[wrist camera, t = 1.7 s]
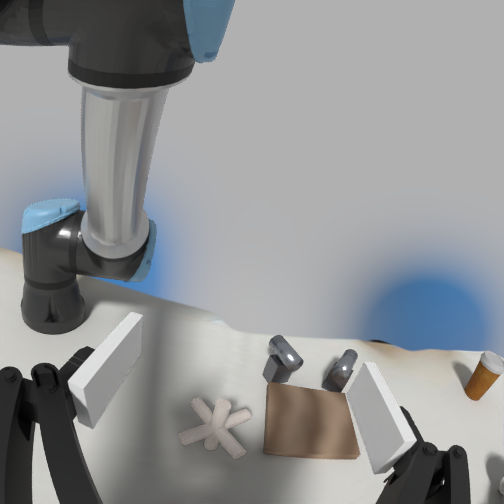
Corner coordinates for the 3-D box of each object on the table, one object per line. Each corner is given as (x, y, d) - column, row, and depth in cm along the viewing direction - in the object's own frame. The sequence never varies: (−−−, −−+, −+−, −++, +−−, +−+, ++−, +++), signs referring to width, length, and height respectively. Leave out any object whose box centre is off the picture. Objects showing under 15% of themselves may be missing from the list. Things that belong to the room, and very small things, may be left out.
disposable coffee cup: (476, 386, 51) (498, 352, 48) (486, 405, 42) (511, 370, 39) (456, 382, 53) (478, 347, 50) (466, 402, 44) (492, 365, 41)
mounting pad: (263, 453, 31) (266, 448, 30) (266, 386, 45) (269, 381, 45) (355, 459, 31) (360, 454, 30) (341, 398, 45) (344, 393, 45)
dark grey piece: (335, 401, 44) (353, 371, 42) (317, 392, 46) (334, 361, 44) (345, 383, 50) (362, 354, 48) (329, 375, 52) (344, 345, 50)
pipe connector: (161, 430, 30) (164, 386, 28) (219, 411, 37) (232, 367, 34) (200, 485, 24) (211, 452, 21) (260, 456, 30) (283, 417, 27)
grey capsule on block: (292, 388, 46) (308, 357, 44) (274, 392, 44) (289, 360, 42) (274, 365, 52) (287, 334, 50) (257, 367, 50) (269, 335, 48)
